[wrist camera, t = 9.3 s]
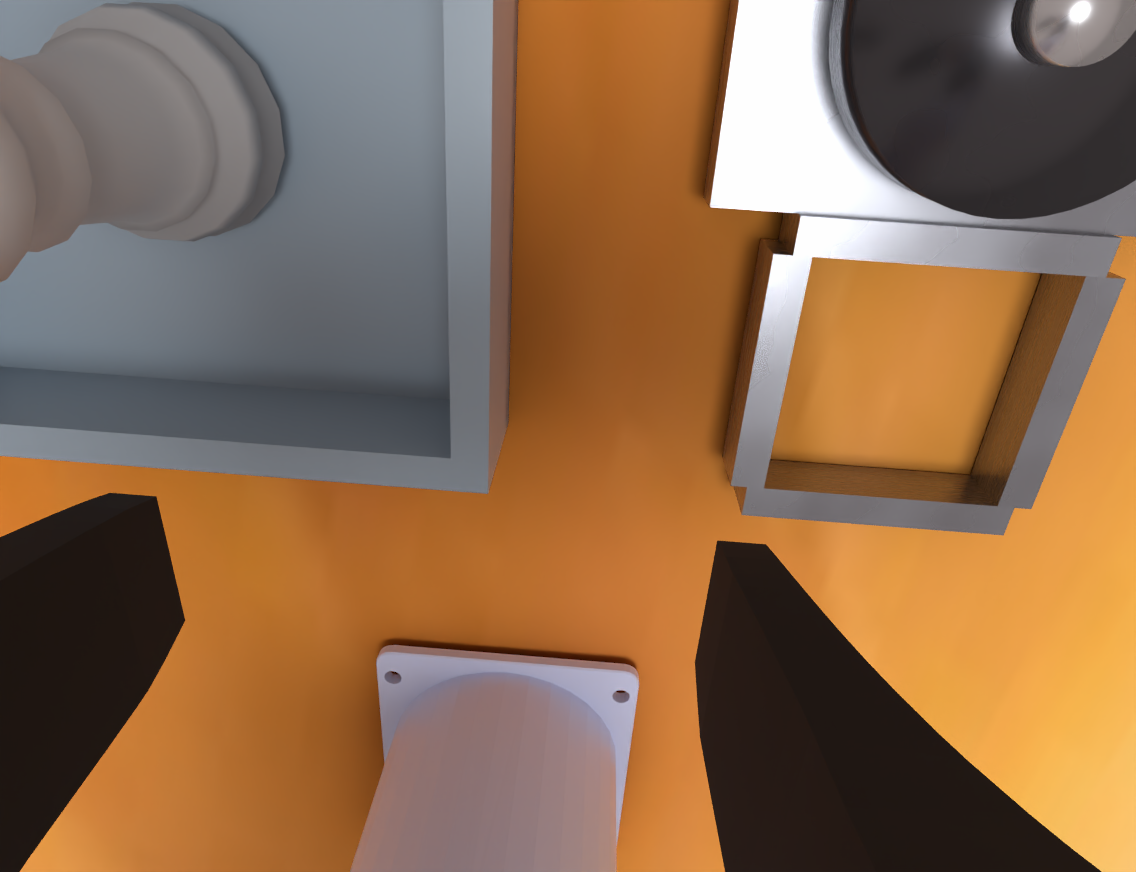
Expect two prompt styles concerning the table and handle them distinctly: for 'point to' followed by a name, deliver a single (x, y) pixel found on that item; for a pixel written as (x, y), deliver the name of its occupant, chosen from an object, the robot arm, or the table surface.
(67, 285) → the tray
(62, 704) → the robot arm
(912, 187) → the pulley bracket
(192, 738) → the table surface
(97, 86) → the rook chess piece
